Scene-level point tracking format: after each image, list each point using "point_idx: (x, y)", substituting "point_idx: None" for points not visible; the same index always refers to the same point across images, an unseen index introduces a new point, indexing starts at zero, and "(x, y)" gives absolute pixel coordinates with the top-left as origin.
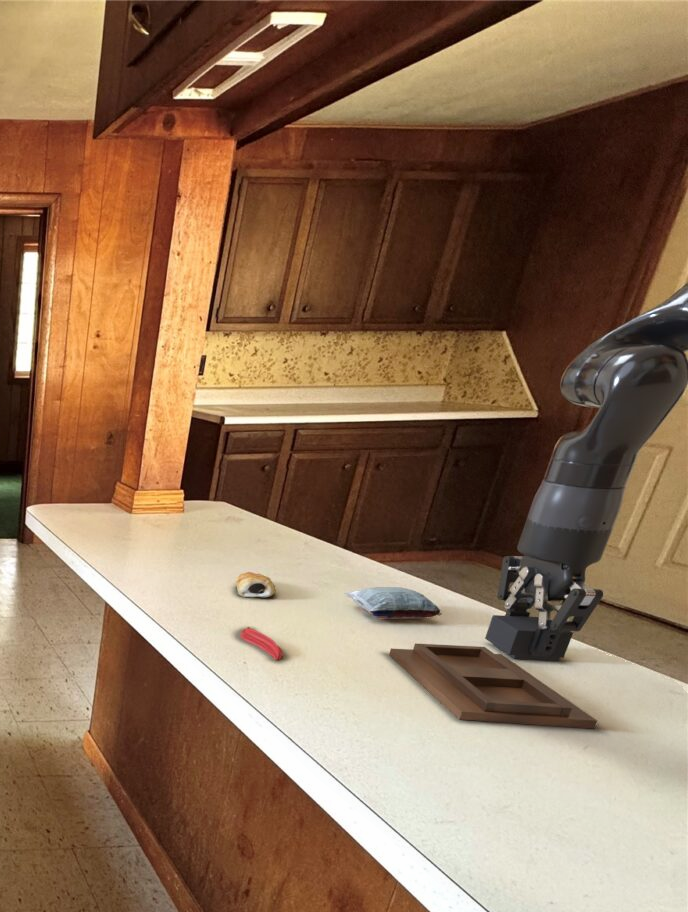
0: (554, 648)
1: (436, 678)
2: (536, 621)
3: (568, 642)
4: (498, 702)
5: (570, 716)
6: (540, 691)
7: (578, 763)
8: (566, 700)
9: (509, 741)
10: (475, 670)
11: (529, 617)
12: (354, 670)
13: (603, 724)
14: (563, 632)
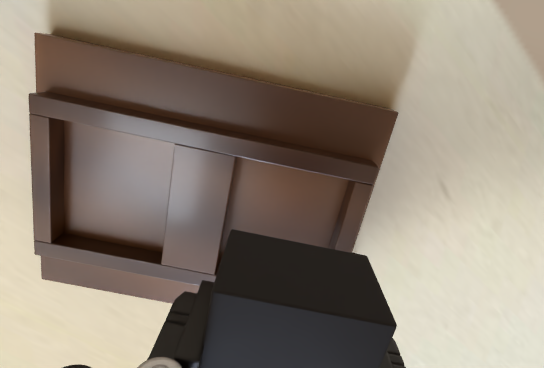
0: (398, 353)
1: (192, 287)
2: (259, 358)
3: (382, 296)
4: None
5: (372, 156)
6: (295, 167)
7: (482, 245)
8: (305, 97)
9: (399, 295)
10: (184, 228)
11: (212, 349)
12: (134, 362)
13: (378, 68)
14: (384, 355)
